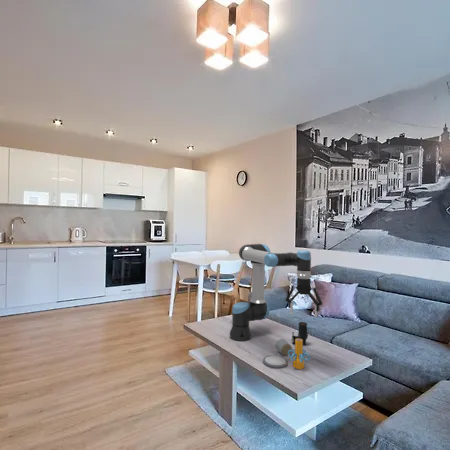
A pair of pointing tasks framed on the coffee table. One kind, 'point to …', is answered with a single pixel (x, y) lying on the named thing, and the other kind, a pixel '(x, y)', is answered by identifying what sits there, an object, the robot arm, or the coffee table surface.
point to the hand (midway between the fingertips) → (303, 315)
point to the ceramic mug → (283, 347)
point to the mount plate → (275, 361)
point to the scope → (301, 333)
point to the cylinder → (298, 355)
